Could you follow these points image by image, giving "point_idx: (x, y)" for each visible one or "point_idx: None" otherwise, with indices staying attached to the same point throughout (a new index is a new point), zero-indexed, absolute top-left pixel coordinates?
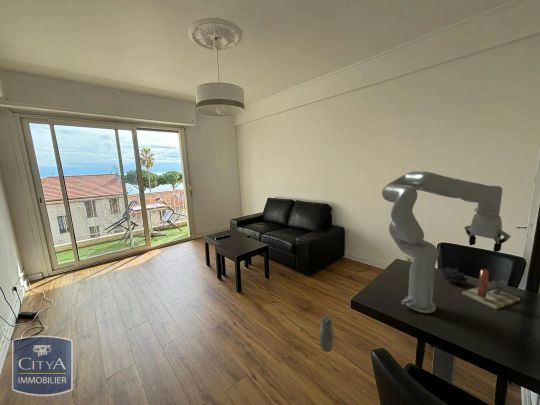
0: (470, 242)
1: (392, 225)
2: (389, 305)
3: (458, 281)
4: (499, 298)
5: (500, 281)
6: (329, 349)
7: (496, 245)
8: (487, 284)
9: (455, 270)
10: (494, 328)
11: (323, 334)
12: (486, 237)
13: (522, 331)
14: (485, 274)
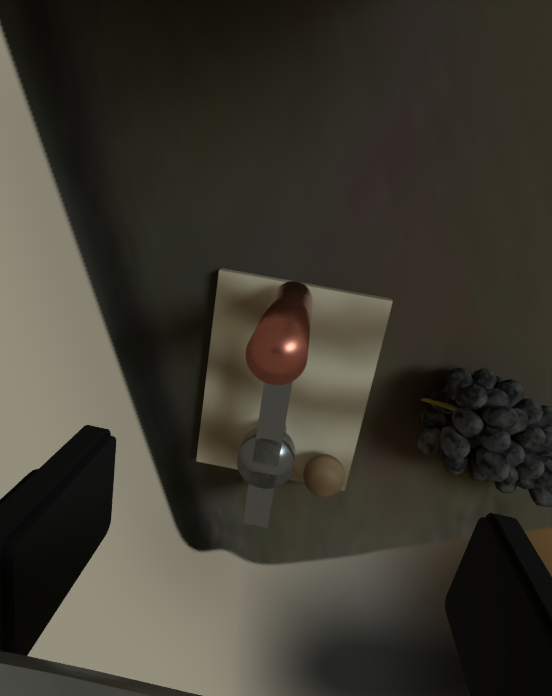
0: (520, 555)
1: None
2: None
3: (446, 382)
4: (246, 384)
5: (264, 496)
6: None
7: (3, 516)
8: (320, 463)
9: (503, 458)
10: (151, 39)
11: None
12: (105, 678)
13: (83, 144)
14: (261, 325)
